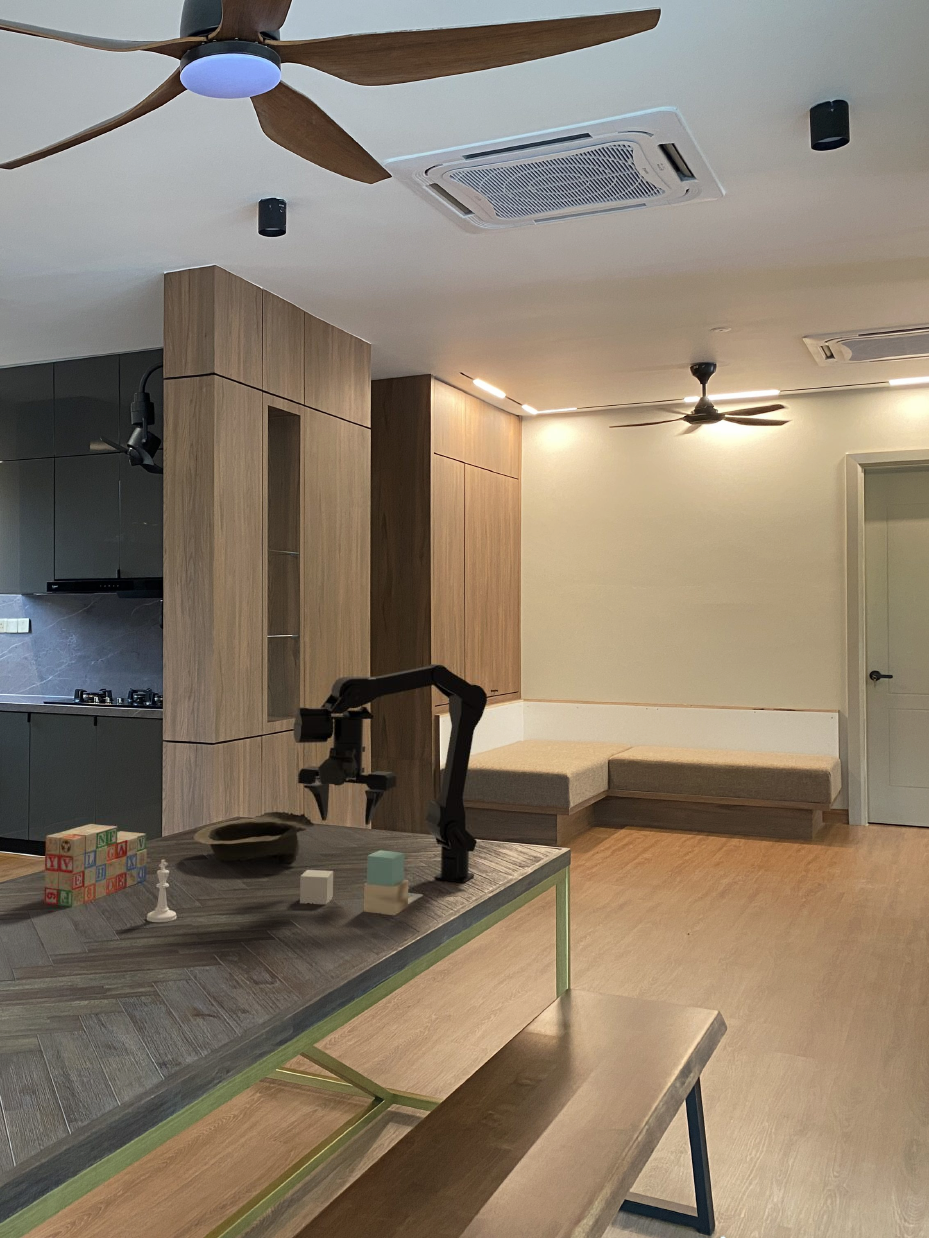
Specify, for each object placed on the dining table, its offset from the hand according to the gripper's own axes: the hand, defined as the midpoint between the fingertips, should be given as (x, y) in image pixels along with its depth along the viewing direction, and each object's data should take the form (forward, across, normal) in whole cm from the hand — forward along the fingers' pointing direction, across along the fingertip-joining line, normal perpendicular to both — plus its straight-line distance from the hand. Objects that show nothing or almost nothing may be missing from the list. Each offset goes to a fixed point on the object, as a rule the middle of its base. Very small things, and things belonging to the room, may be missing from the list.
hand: (345, 822), depth 207 cm
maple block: (+13, +14, -11) cm, 22 cm away
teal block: (+8, +13, -11) cm, 19 cm away
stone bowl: (+13, -28, +13) cm, 33 cm away
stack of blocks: (+13, -40, -22) cm, 48 cm away
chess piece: (+13, -19, -32) cm, 40 cm away
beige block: (+13, 0, -11) cm, 17 cm away
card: (+12, +13, -3) cm, 18 cm away
